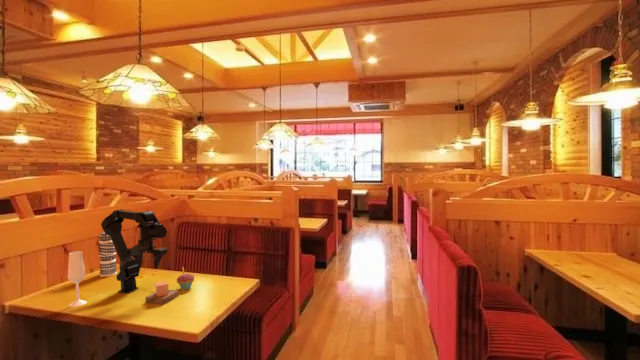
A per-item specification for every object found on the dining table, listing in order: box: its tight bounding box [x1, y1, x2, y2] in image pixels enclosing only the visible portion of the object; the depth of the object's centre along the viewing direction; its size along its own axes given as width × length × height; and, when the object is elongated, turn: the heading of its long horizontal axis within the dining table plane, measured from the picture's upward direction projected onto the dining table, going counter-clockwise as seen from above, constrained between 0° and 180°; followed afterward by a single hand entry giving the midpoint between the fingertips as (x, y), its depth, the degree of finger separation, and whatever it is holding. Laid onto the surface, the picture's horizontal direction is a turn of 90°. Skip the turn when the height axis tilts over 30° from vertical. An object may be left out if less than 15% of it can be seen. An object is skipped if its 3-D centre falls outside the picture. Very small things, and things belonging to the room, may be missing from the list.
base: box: [145, 289, 179, 305], centre depth 160 cm, size 10×10×2 cm
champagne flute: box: [67, 250, 88, 308], centre depth 155 cm, size 7×7×24 cm
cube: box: [155, 280, 169, 297], centre depth 159 cm, size 5×5×5 cm
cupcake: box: [176, 265, 195, 290], centre depth 174 cm, size 9×8×12 cm
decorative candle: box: [97, 231, 118, 278], centre depth 197 cm, size 9×9×25 cm
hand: (148, 268), depth 166 cm, fingers open, 9 cm apart
